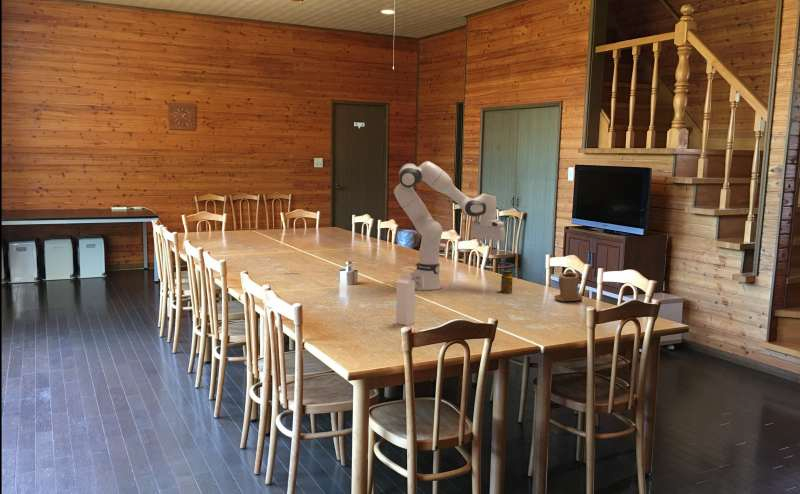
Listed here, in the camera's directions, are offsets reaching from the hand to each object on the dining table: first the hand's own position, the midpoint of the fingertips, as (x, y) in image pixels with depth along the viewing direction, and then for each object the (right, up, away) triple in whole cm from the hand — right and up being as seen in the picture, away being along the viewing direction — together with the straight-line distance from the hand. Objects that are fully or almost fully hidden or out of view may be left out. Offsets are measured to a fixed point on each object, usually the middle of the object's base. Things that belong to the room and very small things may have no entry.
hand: (487, 247), depth 366 cm
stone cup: (+40, -28, -22) cm, 54 cm away
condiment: (+9, -25, -3) cm, 27 cm away
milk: (-46, -34, -71) cm, 92 cm away
